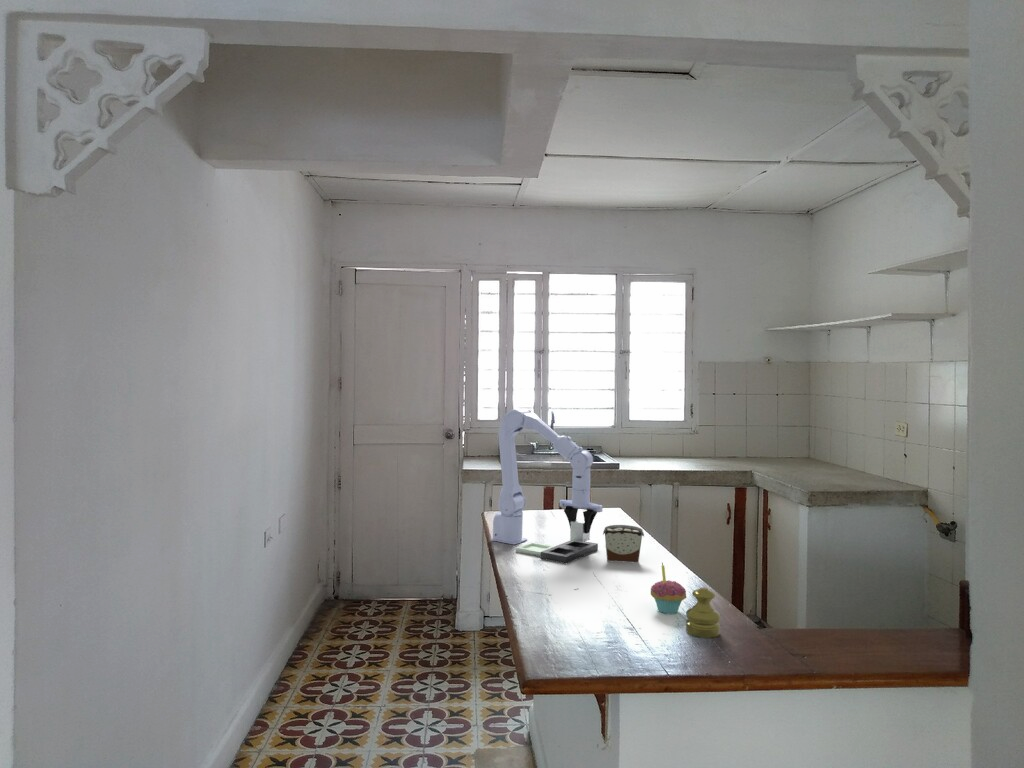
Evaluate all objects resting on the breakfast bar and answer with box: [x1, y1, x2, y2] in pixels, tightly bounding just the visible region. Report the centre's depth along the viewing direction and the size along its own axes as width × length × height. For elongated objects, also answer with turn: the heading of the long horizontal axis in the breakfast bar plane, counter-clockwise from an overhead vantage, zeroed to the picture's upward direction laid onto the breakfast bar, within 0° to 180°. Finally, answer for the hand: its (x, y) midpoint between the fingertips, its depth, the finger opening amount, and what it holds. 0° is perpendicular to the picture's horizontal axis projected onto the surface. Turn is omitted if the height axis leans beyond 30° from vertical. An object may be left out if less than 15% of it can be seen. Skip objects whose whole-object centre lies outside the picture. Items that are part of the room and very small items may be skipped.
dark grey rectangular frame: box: [540, 539, 599, 564], centre depth 228 cm, size 9×20×2 cm, turn 146°
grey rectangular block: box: [569, 518, 591, 542], centre depth 233 cm, size 4×4×6 cm
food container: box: [602, 524, 645, 564], centre depth 223 cm, size 12×6×10 cm, turn 84°
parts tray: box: [515, 541, 556, 557], centre depth 230 cm, size 9×9×1 cm
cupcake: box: [650, 562, 687, 615], centre depth 178 cm, size 9×8×12 cm
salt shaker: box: [685, 586, 722, 639], centre depth 163 cm, size 7×7×10 cm
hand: (580, 531), depth 233 cm, fingers closed on grey rectangular block, 4 cm apart
